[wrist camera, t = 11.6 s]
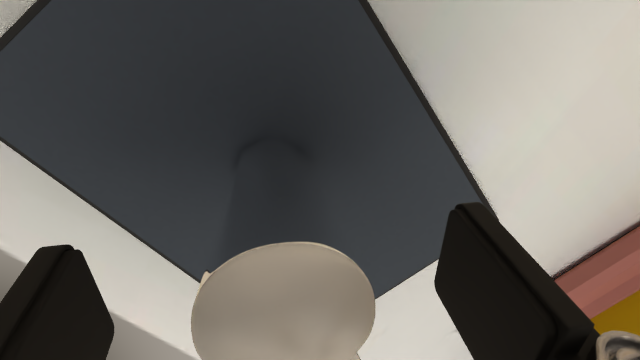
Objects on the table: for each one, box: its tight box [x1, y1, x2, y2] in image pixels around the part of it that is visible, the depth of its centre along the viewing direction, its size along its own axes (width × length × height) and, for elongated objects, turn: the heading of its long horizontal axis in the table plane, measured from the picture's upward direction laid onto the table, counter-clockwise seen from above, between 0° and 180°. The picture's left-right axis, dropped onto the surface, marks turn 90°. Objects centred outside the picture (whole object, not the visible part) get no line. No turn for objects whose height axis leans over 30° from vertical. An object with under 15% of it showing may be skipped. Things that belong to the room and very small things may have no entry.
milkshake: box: [191, 139, 375, 360], centre depth 12 cm, size 4×5×10 cm
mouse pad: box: [0, 0, 499, 299], centre depth 17 cm, size 20×14×1 cm
